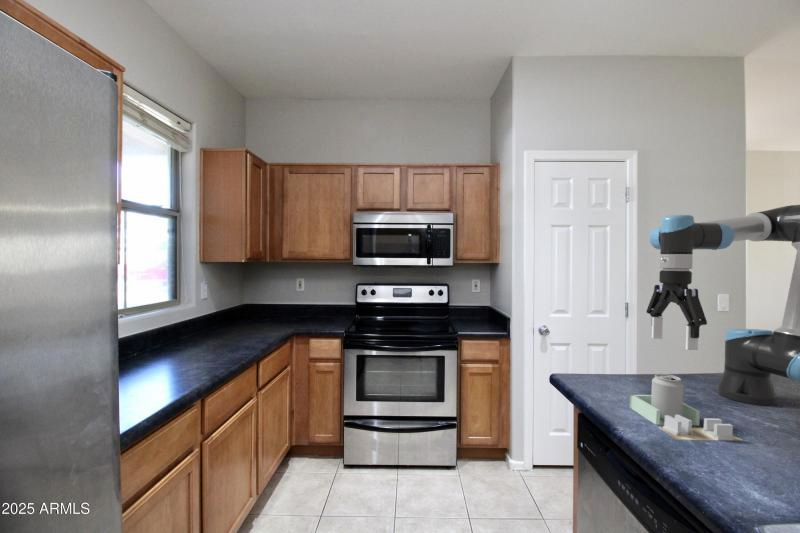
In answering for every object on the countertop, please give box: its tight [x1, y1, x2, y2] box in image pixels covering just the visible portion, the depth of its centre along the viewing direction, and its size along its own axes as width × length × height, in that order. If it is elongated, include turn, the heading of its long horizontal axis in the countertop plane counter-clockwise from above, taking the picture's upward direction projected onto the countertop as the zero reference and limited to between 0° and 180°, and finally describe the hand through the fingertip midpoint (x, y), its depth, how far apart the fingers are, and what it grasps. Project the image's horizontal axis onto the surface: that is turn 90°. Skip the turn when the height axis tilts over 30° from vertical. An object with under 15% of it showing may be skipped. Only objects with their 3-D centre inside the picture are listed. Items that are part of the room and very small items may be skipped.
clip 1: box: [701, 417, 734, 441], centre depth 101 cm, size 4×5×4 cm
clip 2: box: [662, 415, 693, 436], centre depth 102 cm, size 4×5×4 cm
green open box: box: [629, 394, 701, 426], centre depth 112 cm, size 12×12×4 cm
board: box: [657, 426, 744, 442], centre depth 102 cm, size 17×7×1 cm, turn 91°
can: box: [650, 373, 685, 421], centre depth 111 cm, size 8×8×12 cm
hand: (673, 343), depth 112 cm, fingers open, 13 cm apart
